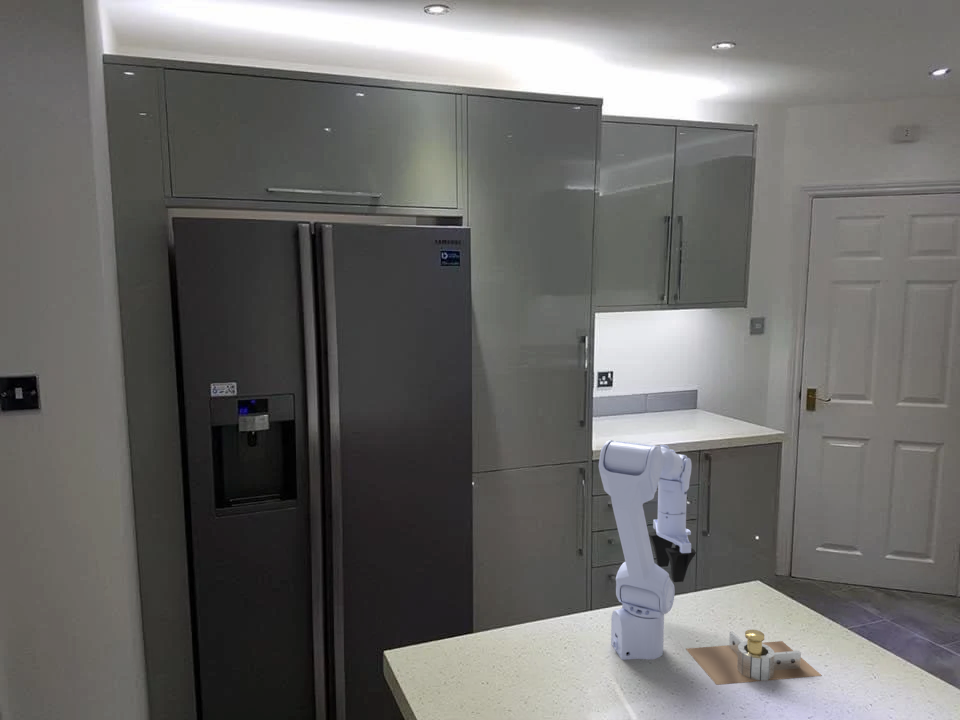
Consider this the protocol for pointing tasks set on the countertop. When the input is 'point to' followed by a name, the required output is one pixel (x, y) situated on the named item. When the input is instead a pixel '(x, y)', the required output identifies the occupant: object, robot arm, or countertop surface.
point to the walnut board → (724, 662)
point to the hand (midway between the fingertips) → (670, 573)
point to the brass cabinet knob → (754, 642)
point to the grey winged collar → (762, 660)
